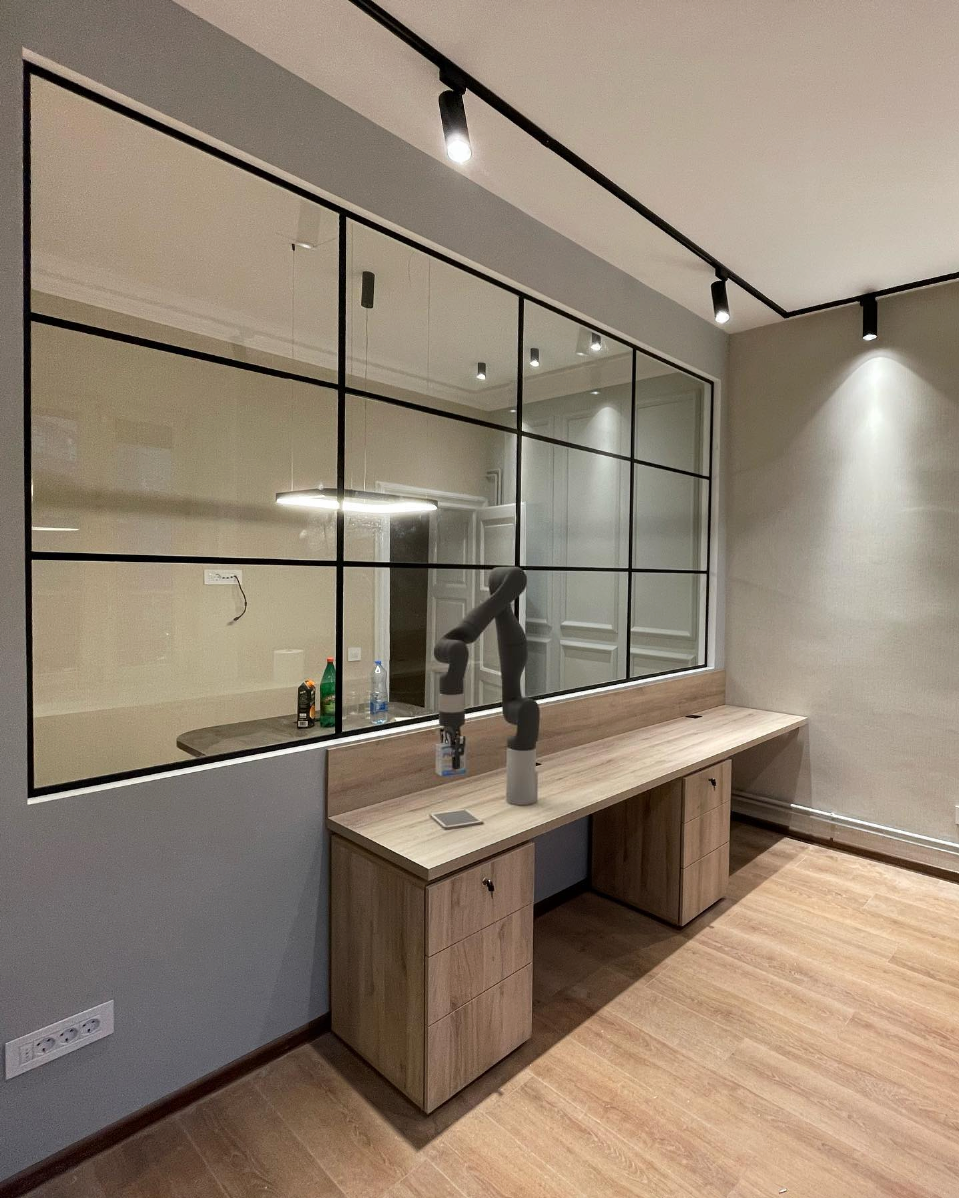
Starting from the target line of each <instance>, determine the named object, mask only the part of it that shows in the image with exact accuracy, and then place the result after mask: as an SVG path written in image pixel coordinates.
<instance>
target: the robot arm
mask: <svg viewBox="0 0 959 1198" xmlns="http://www.w3.org/2000/svg"><path fill="white" fill-rule="evenodd" d="M487 582H488V584H487V585H488V591H489V597H487V598H486V599H485V600H483V601H481V602H480V603H478V604H477V605H475V606H474V607H472V609H470V610H469V611H468V612H467V613H466V614H465V615H464V617H463V618H462V619H461V620H460V622H458V624H456V626H455V627H453V628H452V629H450V630H449V631H448V632H446V633H444V635H442V637H440V638H439V639H438V640H437V642H436V643H435V645H434V647H433V656H434V659H435V660H436V661H437V662H439V663H441V664H447V665H449V666H448V669H447V671H446V672H442V673H441V674H440V675H439V679H438V681H439V682H438V684H439V686H438V687H439V691H438V692H439V695H438V724H439V726H441V727H440V728H439V735H440V736H439V737H440V744H441V743H449V746H450V749H452V769H454V770H457V769H460V756H462V755H464V749H465V744H466V739H467V737H466V736H465V735H463V736H462V732H461V727H462V726H464V725H465V723H466V710H465V709H466V707H465V706H466V705H465V703H466V702H465V694H464V693H465V692H464V691H465V690H464V689H465V688H464V685H465V682H464V678H465V676H466V675H465V674H466V671H467V667H468V662H469V658H470V654H469V653H470V652H469V647H468V645H471V644H473V643H475V641H477V640H478V638H479V637H480V636H481V635H482V633H483V632H484V631H485V629H486V628H487V627H488V626H489V625H490V624H491V622H492V621H493V620H494V624H495V630H496V637H497V638H496V640H497V642H496V643H497V650H498V656H499V667H500V678H501V708H502V709H501V710H502V716H503V719H504V720H505V721H506V723H508V724H509V725H514V726H516V733H515V735H511V736H508V738H507V740H506V783H505V785H506V786H505V787H506V788H505V800H506V802H507V803H509V804H511V805H516V806H528V805H532V804H534V803H535V802H538V792H539V787H538V786H539V783H538V782H539V772H538V771H536V765H537V764H536V762H537V761H536V755H537V754H536V753H537V751H536V750H537V749H536V748H537V742H538V739H539V733H540V731H539V730H540V720H541V719H540V716H541V711H540V707H539V703H538V702H537V701H536V700H534V699H533V698H528V697H524V696H523V695H522V691H521V690H522V689H521V677H522V675H523V672H524V670H525V667H526V665H527V661H528V657H529V653H528V643H527V636H526V633H525V631H524V629H523V626H521V624H520V622H519V620H518V619H517V617H516V615H515V614H514V611H513V608H512V603H513V602H514V601H515V600H516V599H517V598H519V596H521V594H522V593H523V592H524V591H525V589H526V587H527V583H528V577H527V574H526V572H525V571H524V570H523V569H522V568H521V567H518V566H499V567H498V566H497V567H494V568H493V569H491V571H490V572H489V575H488V581H487ZM453 744H455V746H453ZM454 749H455V751H454Z"/></svg>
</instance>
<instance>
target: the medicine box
mask: <svg viewBox="0 0 959 1198" xmlns="http://www.w3.org/2000/svg"><path fill="white" fill-rule="evenodd" d="M453 746H455V744H453ZM454 751H455V749H454ZM435 773H436V774H437V775H438V776H441V777H442V778H443V777H449V776H450V777H451V776H455V775H461V774H467V744H466V743H465V749H464V755H462V756H460V769H457V770H454V769H452V749H450V746H449V743H441V742H440V743H436V744H435Z"/></svg>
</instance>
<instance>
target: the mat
mask: <svg viewBox="0 0 959 1198" xmlns="http://www.w3.org/2000/svg"><path fill="white" fill-rule="evenodd" d="M429 817H430V818H431V819H432V820H433V821H434V822H436V823H437V825H439V827H441V828H442V829H443V830H444V831H445V830H451V829H458V828H465V827H471V826H477V825H483V824H484V821H483V820H482V819H481V818H480V817H478V816H476V815H475V814H474V813H473V812H471V811H470V810H468V808H460V809H455V810H447V811H443V812H442V811H440V812H434V813H433V812H432V813H429Z"/></svg>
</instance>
